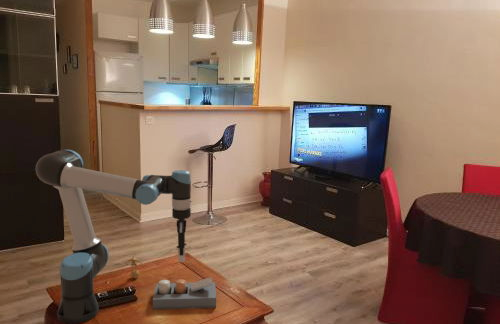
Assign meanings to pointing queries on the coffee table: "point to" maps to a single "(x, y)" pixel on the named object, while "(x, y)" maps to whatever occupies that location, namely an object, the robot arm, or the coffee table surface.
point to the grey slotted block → (185, 298)
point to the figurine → (135, 272)
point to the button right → (180, 286)
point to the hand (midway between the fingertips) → (181, 261)
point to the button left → (164, 287)
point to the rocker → (201, 284)
